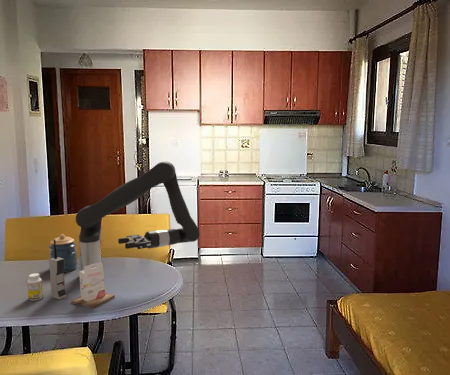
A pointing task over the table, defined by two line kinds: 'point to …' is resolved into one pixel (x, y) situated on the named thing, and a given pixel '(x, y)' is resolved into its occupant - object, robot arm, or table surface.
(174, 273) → the table surface
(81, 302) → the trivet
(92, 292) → the ink cartridge box
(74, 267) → the canister
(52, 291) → the vintage mobile phone
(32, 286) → the supplement bottle
